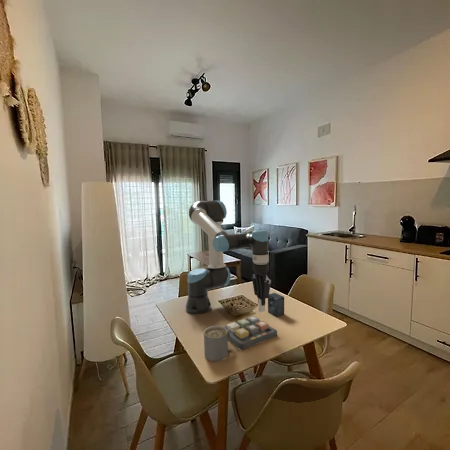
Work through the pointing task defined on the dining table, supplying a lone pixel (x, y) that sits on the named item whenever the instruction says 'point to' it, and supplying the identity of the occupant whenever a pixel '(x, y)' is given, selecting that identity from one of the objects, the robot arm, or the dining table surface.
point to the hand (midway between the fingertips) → (261, 311)
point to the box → (276, 304)
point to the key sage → (243, 323)
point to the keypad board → (252, 337)
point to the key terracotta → (262, 325)
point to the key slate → (253, 320)
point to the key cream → (233, 326)
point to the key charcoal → (252, 329)
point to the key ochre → (242, 333)
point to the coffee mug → (216, 343)
